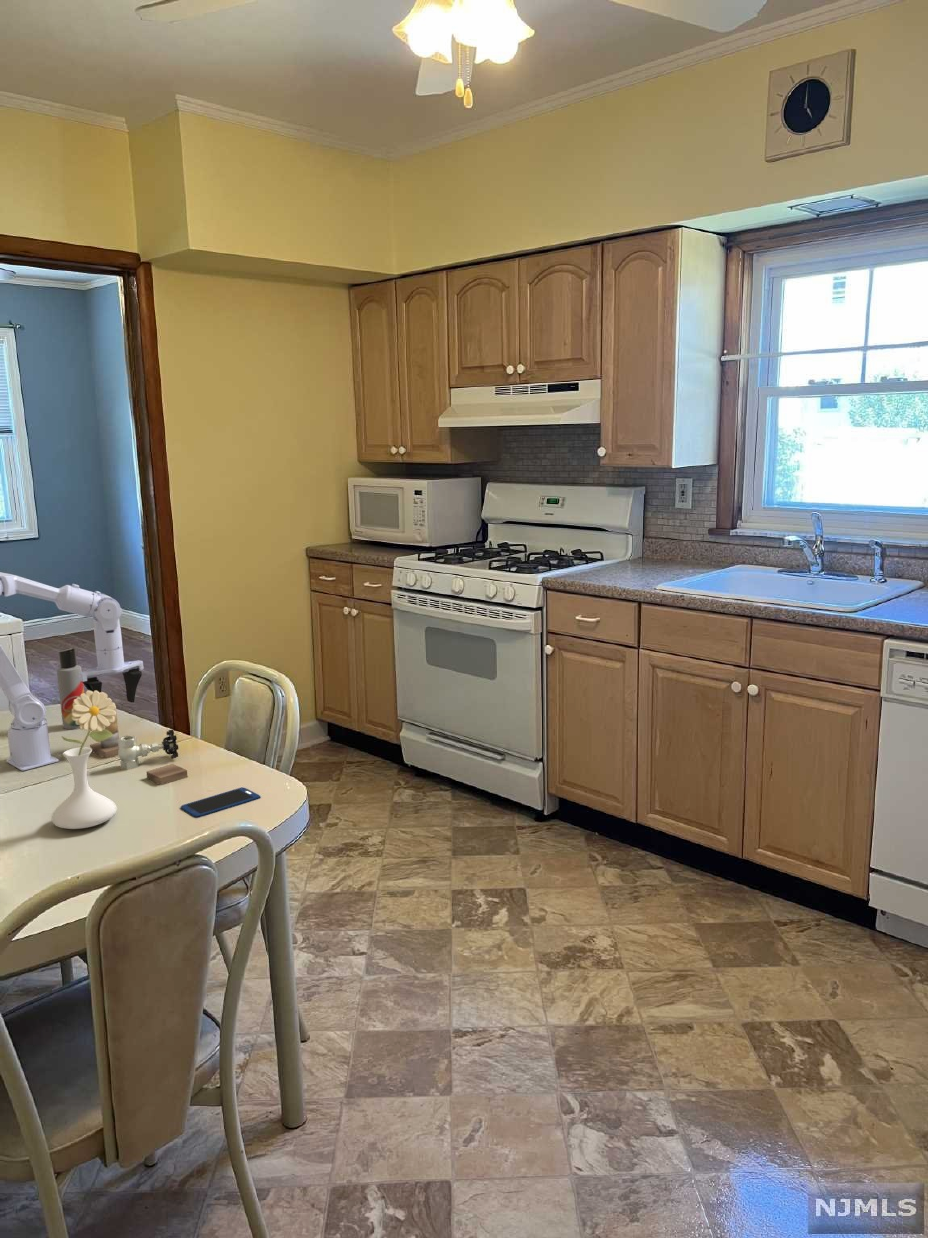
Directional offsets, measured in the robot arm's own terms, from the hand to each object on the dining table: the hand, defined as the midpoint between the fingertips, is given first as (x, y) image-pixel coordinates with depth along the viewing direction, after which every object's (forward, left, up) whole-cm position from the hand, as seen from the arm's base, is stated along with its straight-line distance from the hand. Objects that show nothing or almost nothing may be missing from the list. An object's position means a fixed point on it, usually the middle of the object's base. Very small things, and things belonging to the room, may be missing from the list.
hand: (115, 705), depth 213 cm
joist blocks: (+16, -3, -10) cm, 19 cm away
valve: (+16, -1, -10) cm, 19 cm away
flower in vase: (+38, -24, -10) cm, 46 cm away
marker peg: (+2, -3, -8) cm, 9 cm away
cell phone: (+49, -3, -10) cm, 50 cm away
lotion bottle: (-24, 0, -10) cm, 26 cm away
